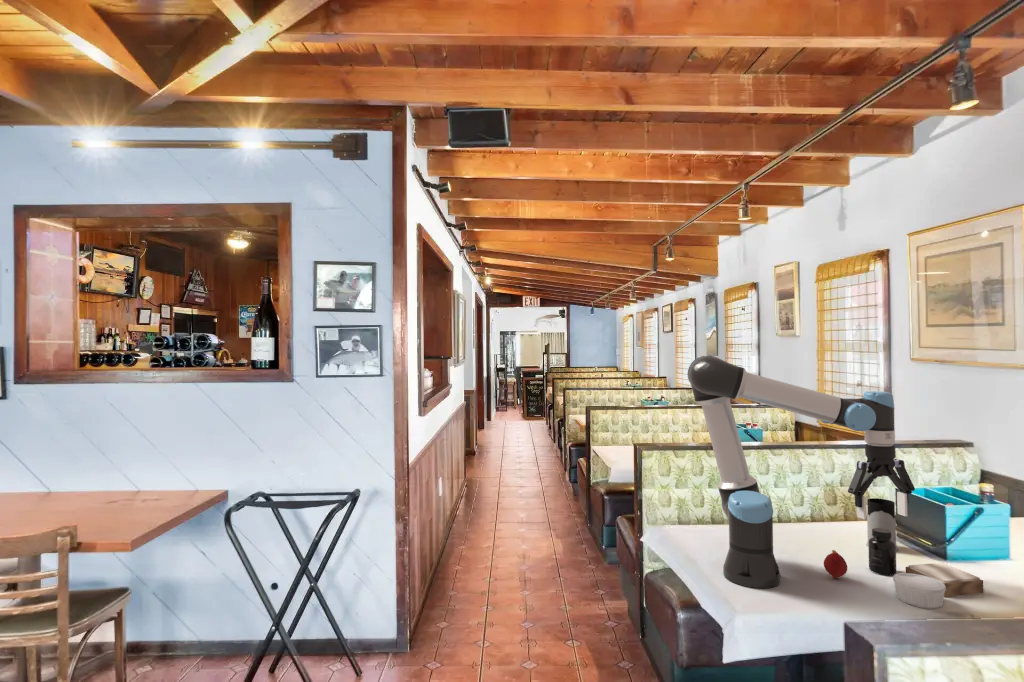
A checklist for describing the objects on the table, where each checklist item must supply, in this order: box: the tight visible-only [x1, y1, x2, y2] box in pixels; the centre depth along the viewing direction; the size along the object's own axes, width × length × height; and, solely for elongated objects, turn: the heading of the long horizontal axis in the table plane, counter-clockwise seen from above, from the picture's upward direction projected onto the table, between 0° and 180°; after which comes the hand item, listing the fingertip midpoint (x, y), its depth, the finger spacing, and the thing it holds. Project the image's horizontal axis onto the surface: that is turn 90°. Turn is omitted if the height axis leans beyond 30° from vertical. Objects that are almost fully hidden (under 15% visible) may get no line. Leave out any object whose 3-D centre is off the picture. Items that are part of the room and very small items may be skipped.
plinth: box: [905, 562, 984, 598], centre depth 155 cm, size 12×12×4 cm
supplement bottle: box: [867, 528, 897, 576], centre depth 166 cm, size 7×7×12 cm
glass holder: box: [865, 497, 899, 552], centre depth 189 cm, size 9×14×15 cm, turn 148°
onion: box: [823, 549, 848, 580], centre depth 161 cm, size 6×6×8 cm
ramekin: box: [892, 572, 946, 610], centre depth 147 cm, size 11×11×5 cm
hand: (882, 516), depth 166 cm, fingers open, 13 cm apart
